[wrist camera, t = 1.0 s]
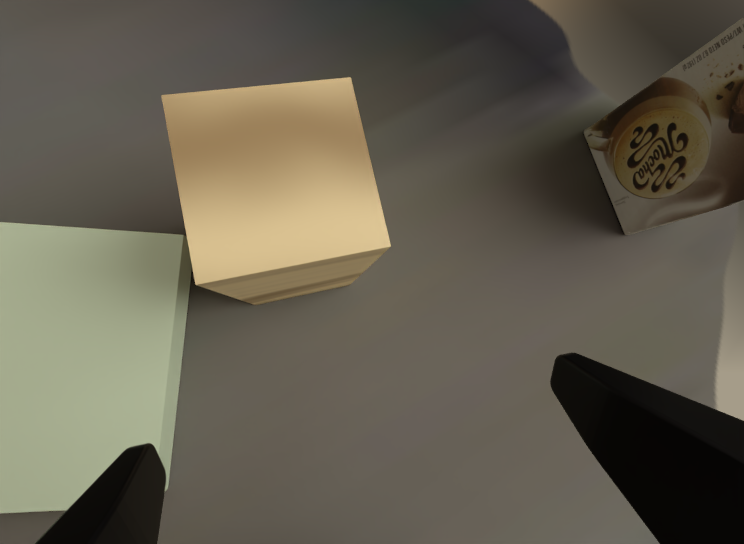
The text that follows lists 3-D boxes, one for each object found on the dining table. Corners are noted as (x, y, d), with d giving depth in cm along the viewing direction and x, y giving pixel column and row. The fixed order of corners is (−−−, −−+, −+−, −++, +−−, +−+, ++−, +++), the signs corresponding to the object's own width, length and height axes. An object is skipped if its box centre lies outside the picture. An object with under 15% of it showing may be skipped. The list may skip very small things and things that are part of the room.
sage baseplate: (168, 487, 20) (152, 505, 18) (-140, 500, 18) (-196, 522, 16) (194, 242, 22) (183, 234, 20) (-78, 224, 20) (-120, 213, 18)
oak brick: (349, 285, 23) (390, 246, 12) (255, 305, 22) (195, 285, 10) (330, 197, 24) (350, 77, 12) (237, 212, 23) (161, 95, 11)
